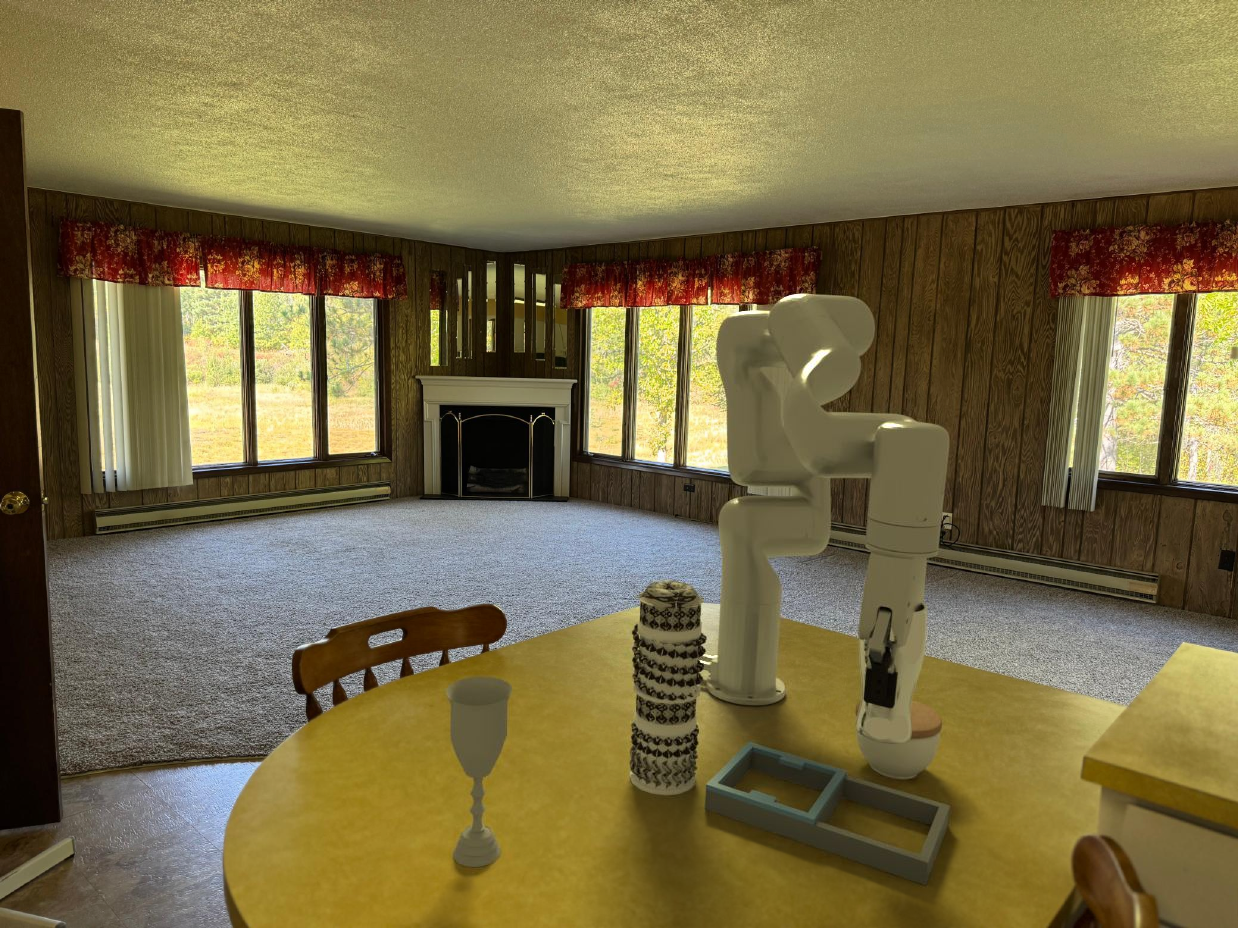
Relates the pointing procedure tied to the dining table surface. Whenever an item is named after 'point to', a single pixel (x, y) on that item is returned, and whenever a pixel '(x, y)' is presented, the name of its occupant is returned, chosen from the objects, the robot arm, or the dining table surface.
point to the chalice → (478, 755)
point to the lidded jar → (905, 746)
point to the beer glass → (897, 720)
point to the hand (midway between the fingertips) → (886, 691)
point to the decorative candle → (666, 688)
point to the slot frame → (826, 810)
